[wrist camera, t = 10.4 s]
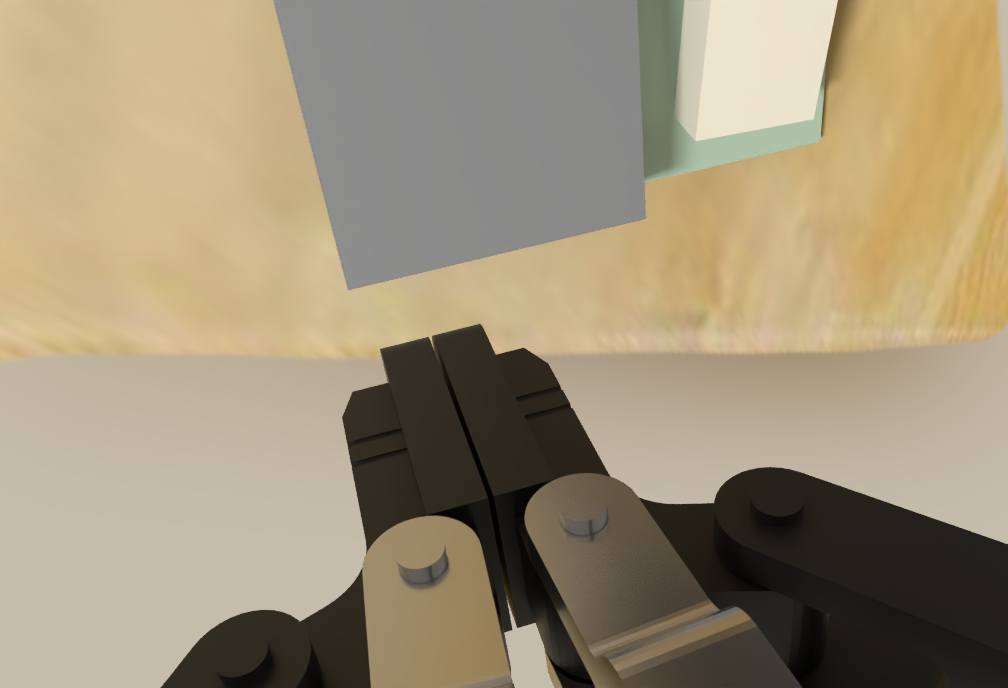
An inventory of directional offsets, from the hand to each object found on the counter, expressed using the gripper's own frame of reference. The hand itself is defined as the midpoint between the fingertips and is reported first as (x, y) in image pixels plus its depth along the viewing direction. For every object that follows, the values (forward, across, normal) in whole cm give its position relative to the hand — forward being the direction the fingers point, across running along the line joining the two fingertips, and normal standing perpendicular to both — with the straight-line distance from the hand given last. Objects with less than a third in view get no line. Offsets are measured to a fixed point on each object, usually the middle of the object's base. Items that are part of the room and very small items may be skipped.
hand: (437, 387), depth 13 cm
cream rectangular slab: (+25, -19, +5) cm, 32 cm away
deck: (+29, -6, +4) cm, 30 cm away
